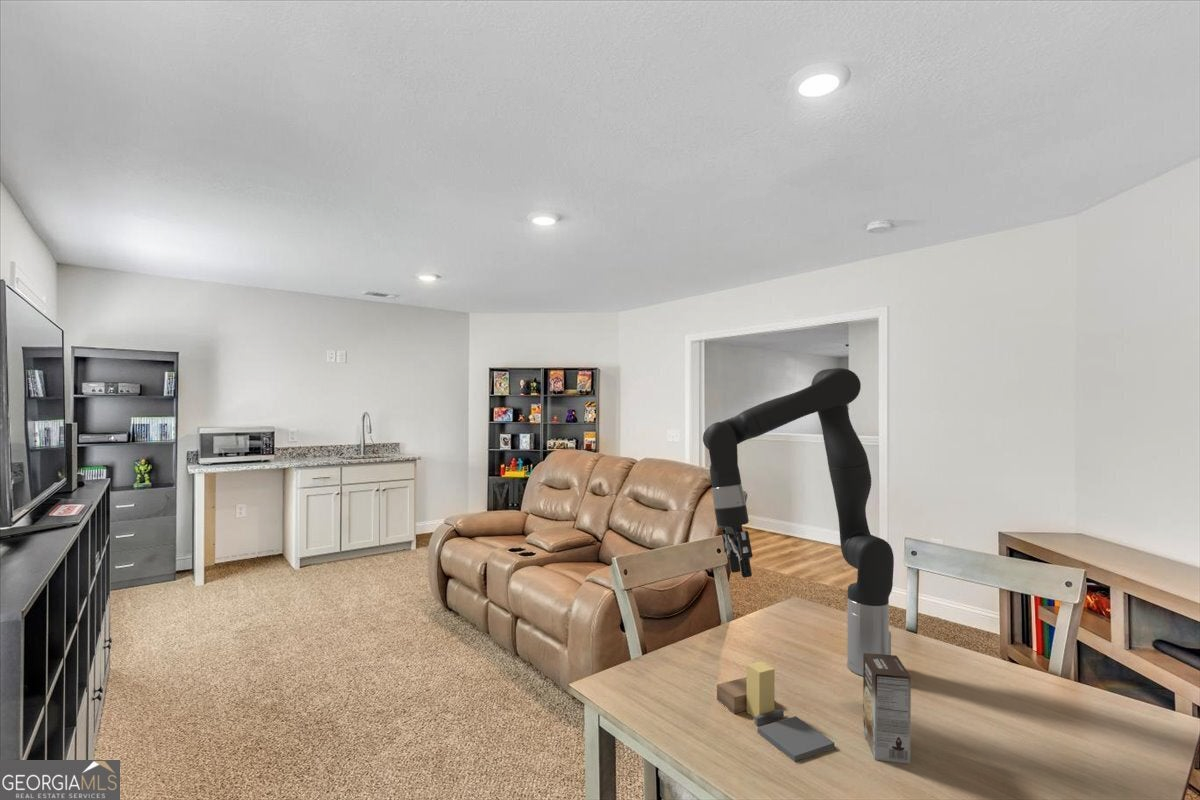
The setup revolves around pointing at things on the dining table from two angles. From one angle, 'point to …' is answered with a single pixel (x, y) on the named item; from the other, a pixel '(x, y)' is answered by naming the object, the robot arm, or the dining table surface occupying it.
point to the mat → (795, 738)
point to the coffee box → (886, 707)
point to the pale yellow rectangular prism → (760, 688)
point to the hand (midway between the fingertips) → (741, 574)
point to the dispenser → (742, 700)
